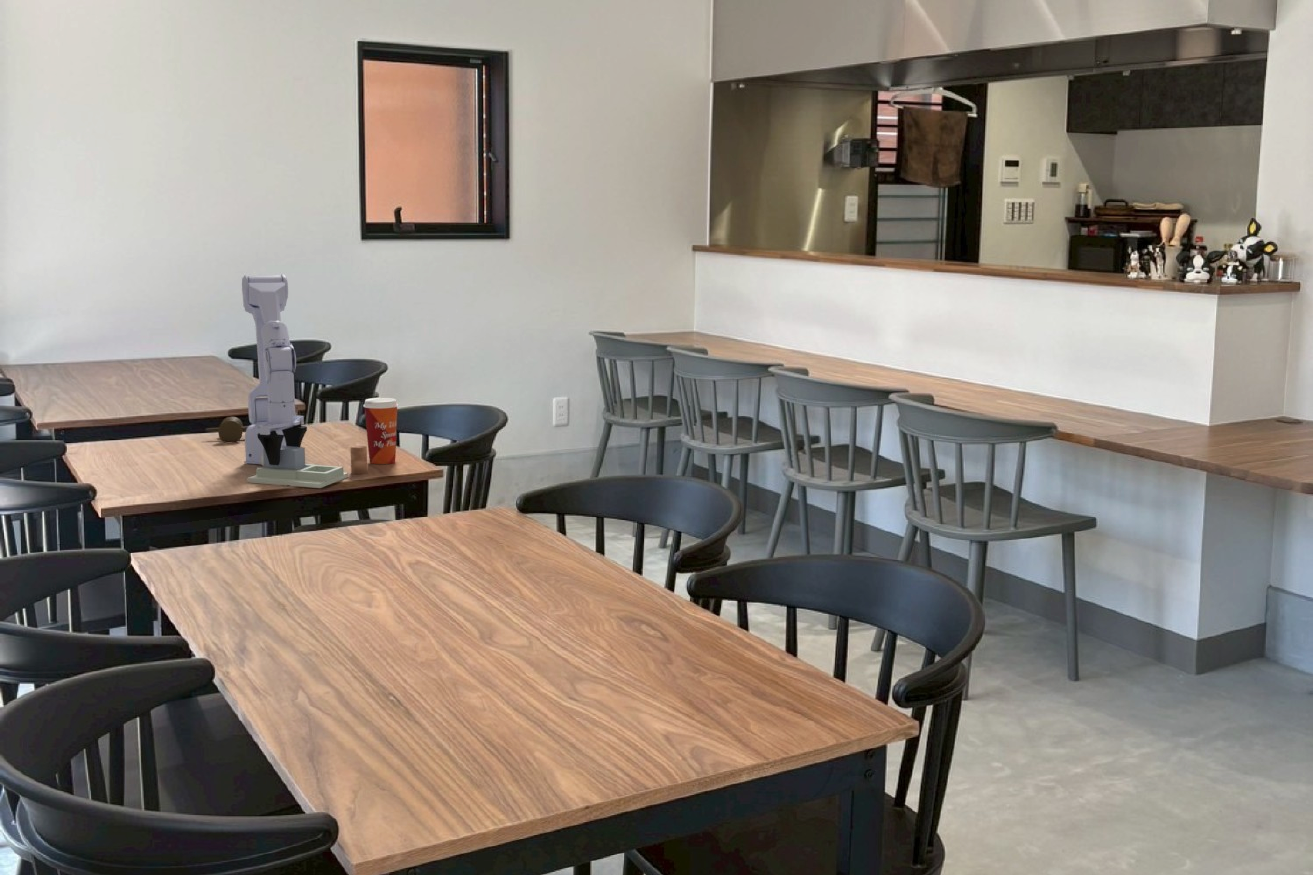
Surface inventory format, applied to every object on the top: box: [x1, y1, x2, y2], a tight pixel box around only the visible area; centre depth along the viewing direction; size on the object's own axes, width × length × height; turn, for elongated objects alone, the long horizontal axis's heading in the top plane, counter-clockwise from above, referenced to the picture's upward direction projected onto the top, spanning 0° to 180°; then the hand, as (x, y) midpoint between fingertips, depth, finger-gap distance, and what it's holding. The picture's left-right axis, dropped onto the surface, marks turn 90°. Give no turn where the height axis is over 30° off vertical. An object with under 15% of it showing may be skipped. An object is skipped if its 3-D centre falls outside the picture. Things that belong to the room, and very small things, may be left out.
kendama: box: [205, 416, 250, 443], centre depth 333 cm, size 6×10×20 cm
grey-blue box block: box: [260, 446, 306, 470], centre depth 286 cm, size 9×4×6 cm, turn 74°
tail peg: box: [349, 445, 368, 475], centre depth 293 cm, size 4×4×6 cm
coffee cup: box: [362, 397, 399, 465], centre depth 304 cm, size 8×8×15 cm
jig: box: [246, 463, 349, 489], centre depth 285 cm, size 18×12×3 cm, turn 74°
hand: (283, 461), depth 286 cm, fingers open, 7 cm apart
